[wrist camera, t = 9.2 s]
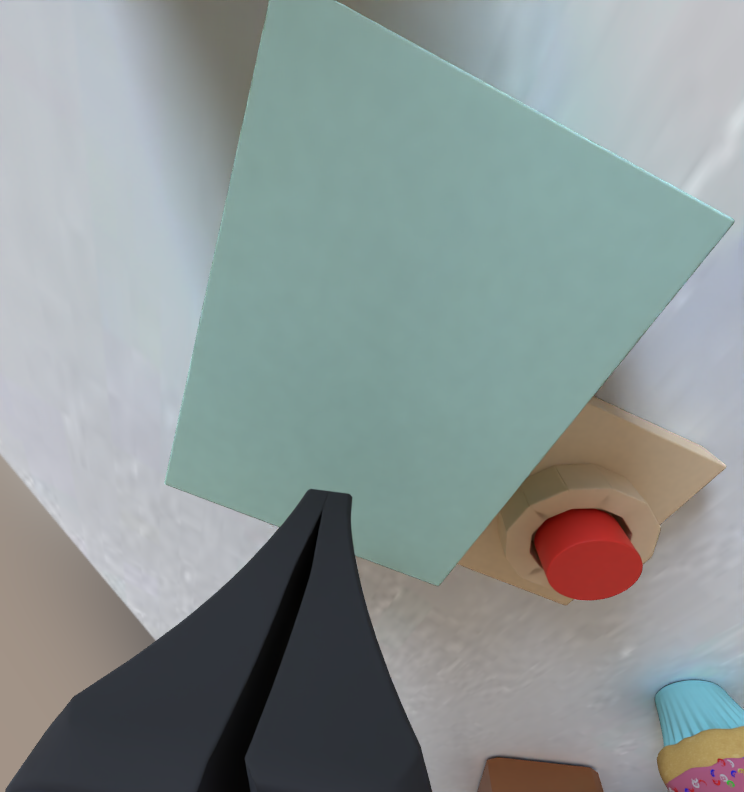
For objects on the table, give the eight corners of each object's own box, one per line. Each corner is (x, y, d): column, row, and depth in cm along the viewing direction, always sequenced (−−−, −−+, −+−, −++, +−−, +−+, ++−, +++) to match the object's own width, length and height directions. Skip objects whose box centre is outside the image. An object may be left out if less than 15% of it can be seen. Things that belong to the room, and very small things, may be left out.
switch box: (702, 446, 19) (761, 493, 16) (556, 581, 24) (578, 637, 21) (550, 376, 18) (581, 411, 15) (433, 533, 23) (437, 584, 20)
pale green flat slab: (436, 567, 16) (438, 587, 15) (177, 468, 15) (163, 484, 14) (707, 219, 10) (738, 220, 9) (288, -9, 8) (274, -36, 8)
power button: (639, 526, 17) (664, 560, 16) (584, 574, 19) (601, 611, 18) (567, 495, 17) (585, 527, 15) (517, 548, 19) (528, 582, 17)
